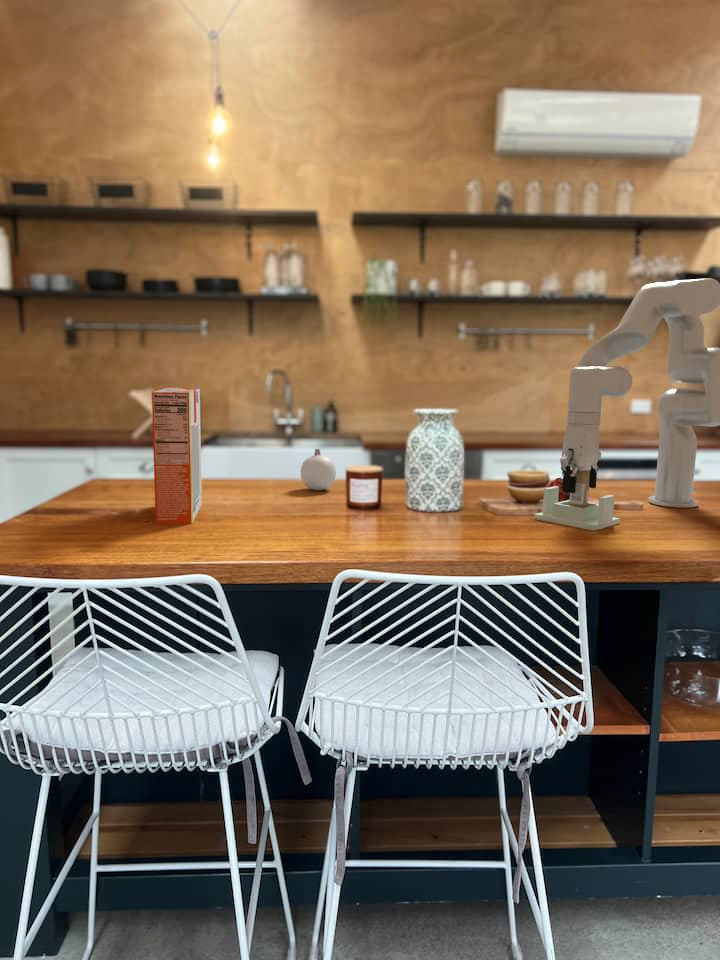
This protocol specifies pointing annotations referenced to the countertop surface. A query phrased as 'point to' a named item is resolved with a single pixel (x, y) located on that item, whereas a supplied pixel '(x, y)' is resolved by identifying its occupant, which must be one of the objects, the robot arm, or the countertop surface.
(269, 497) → the countertop surface
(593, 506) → the caddy
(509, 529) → the countertop surface
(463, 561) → the countertop surface
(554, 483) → the dragon fruit
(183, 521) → the orange cereal box
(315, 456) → the ornament
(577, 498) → the sprinkles bottle
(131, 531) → the countertop surface
